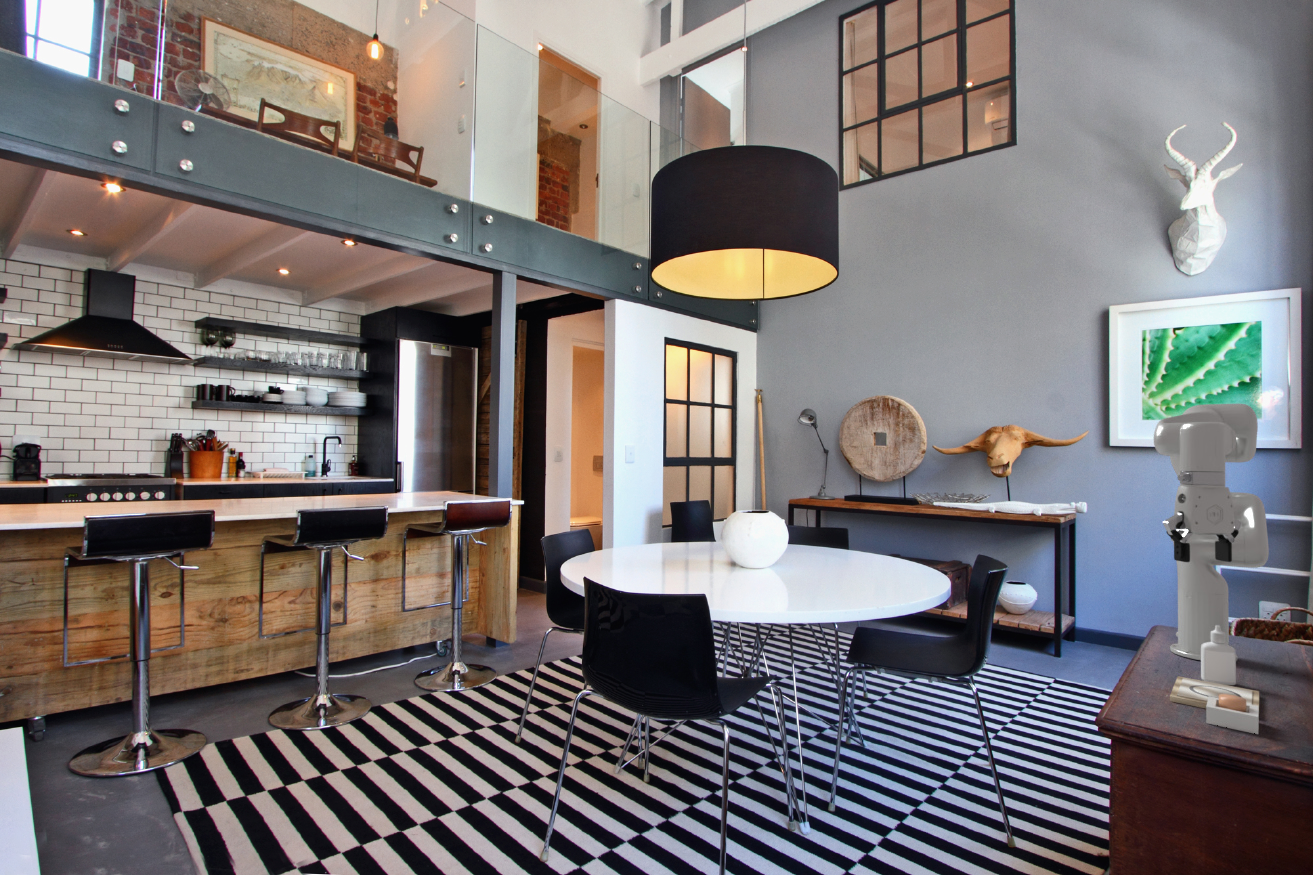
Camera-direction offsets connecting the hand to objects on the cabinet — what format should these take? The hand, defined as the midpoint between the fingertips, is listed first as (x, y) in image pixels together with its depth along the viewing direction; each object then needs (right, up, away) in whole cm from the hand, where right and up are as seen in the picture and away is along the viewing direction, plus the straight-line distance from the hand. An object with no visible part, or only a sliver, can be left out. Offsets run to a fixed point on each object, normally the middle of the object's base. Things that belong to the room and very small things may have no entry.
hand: (1202, 560), depth 143 cm
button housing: (-11, -26, -21) cm, 35 cm away
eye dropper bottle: (+4, -26, +1) cm, 27 cm away
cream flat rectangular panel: (-5, -26, -9) cm, 28 cm away
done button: (-11, -23, -21) cm, 33 cm away
